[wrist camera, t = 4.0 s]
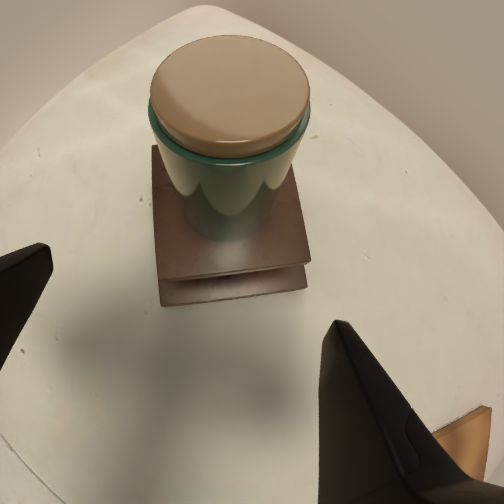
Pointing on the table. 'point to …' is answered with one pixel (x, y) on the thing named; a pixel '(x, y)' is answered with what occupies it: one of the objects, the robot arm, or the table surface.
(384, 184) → the table surface
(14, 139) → the table surface
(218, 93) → the jar
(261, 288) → the stand
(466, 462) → the trivet
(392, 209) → the table surface
